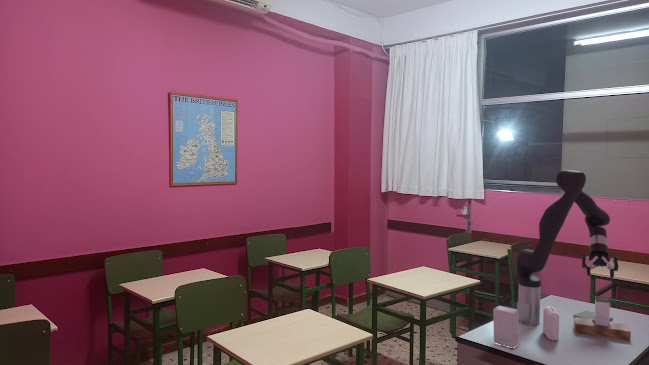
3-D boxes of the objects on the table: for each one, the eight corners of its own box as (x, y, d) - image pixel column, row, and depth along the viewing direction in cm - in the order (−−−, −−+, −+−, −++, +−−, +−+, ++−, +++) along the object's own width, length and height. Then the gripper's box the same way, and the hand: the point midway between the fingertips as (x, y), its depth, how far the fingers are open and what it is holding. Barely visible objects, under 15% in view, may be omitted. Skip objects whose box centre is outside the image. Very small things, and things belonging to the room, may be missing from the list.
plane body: (626, 333, 195) (627, 324, 195) (630, 341, 187) (630, 331, 187) (574, 325, 204) (574, 316, 204) (575, 332, 196) (575, 323, 196)
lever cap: (607, 324, 197) (608, 296, 196) (608, 329, 191) (610, 300, 191) (593, 323, 199) (595, 295, 198) (595, 327, 194) (596, 299, 193)
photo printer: (541, 331, 197) (542, 303, 196) (552, 332, 196) (553, 304, 195) (548, 340, 187) (549, 311, 186) (559, 341, 186) (560, 312, 185)
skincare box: (519, 345, 181) (520, 309, 181) (512, 350, 177) (513, 313, 176) (498, 339, 187) (499, 304, 187) (492, 343, 183) (493, 307, 182)
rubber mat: (600, 324, 205) (600, 322, 205) (573, 316, 215) (573, 314, 215) (612, 319, 212) (612, 317, 212) (586, 312, 222) (586, 310, 222)
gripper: (581, 241, 215) (582, 270, 205) (617, 243, 208) (620, 273, 199) (580, 250, 220) (581, 279, 210) (615, 252, 214) (618, 282, 204)
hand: (600, 276), depth 205 cm, fingers open, 8 cm apart
